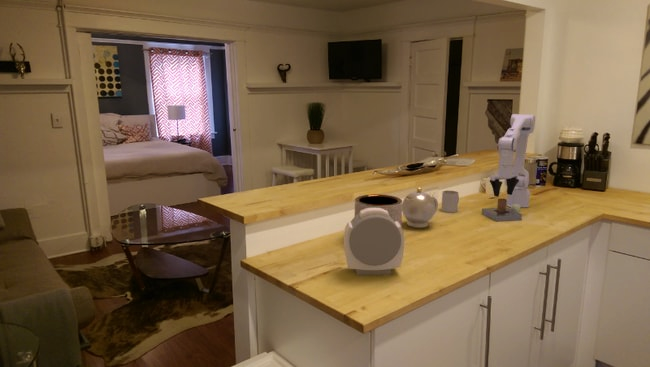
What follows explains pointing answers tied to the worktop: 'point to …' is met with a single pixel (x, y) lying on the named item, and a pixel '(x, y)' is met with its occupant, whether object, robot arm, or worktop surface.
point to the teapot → (419, 208)
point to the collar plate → (501, 214)
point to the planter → (381, 205)
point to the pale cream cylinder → (515, 208)
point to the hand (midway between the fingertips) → (502, 195)
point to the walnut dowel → (501, 205)
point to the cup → (450, 201)
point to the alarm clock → (373, 242)
